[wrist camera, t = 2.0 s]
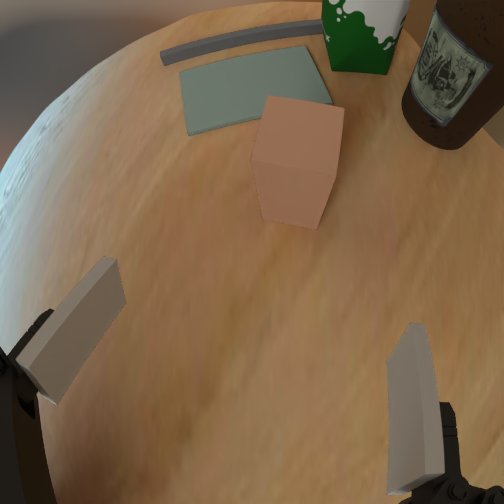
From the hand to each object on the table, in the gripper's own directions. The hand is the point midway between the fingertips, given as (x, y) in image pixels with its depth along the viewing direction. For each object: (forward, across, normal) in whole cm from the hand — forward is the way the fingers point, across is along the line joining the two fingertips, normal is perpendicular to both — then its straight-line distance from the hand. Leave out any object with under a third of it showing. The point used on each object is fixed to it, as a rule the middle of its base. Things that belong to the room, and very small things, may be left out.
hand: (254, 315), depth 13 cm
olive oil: (+29, +15, +7) cm, 33 cm away
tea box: (+18, 0, -3) cm, 18 cm away
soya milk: (+34, +4, +12) cm, 36 cm away
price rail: (+34, -7, +13) cm, 37 cm away
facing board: (+28, -7, +6) cm, 29 cm away
